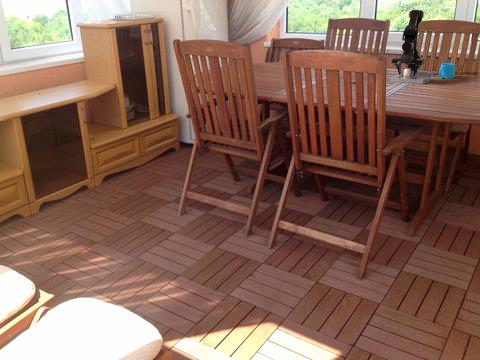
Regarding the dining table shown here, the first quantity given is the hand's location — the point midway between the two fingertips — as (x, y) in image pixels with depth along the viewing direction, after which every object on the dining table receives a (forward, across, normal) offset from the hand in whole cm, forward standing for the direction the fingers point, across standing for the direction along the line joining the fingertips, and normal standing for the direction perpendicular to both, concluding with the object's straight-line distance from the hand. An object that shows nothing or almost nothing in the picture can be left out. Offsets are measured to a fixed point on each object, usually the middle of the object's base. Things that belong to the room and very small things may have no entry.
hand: (406, 75), depth 308 cm
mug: (+3, +18, +17) cm, 25 cm away
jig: (+3, +3, 0) cm, 4 cm away
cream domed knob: (+3, 0, 0) cm, 3 cm away
